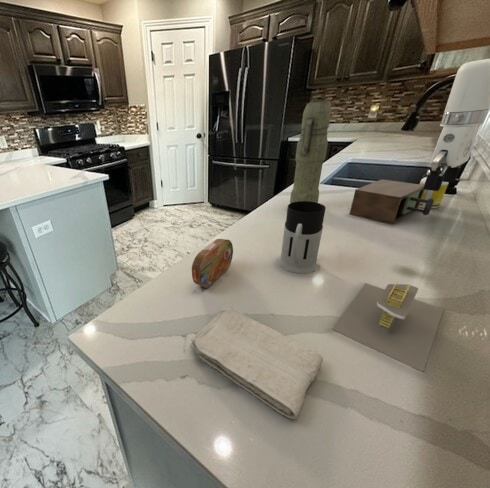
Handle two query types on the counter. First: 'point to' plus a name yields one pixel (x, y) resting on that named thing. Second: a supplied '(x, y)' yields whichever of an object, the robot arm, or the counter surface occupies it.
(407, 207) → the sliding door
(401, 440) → the counter surface
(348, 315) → the platform
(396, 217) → the cabinet
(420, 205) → the pill bottle
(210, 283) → the tin
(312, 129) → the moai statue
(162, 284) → the counter surface
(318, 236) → the glass holder
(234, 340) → the washcloth
